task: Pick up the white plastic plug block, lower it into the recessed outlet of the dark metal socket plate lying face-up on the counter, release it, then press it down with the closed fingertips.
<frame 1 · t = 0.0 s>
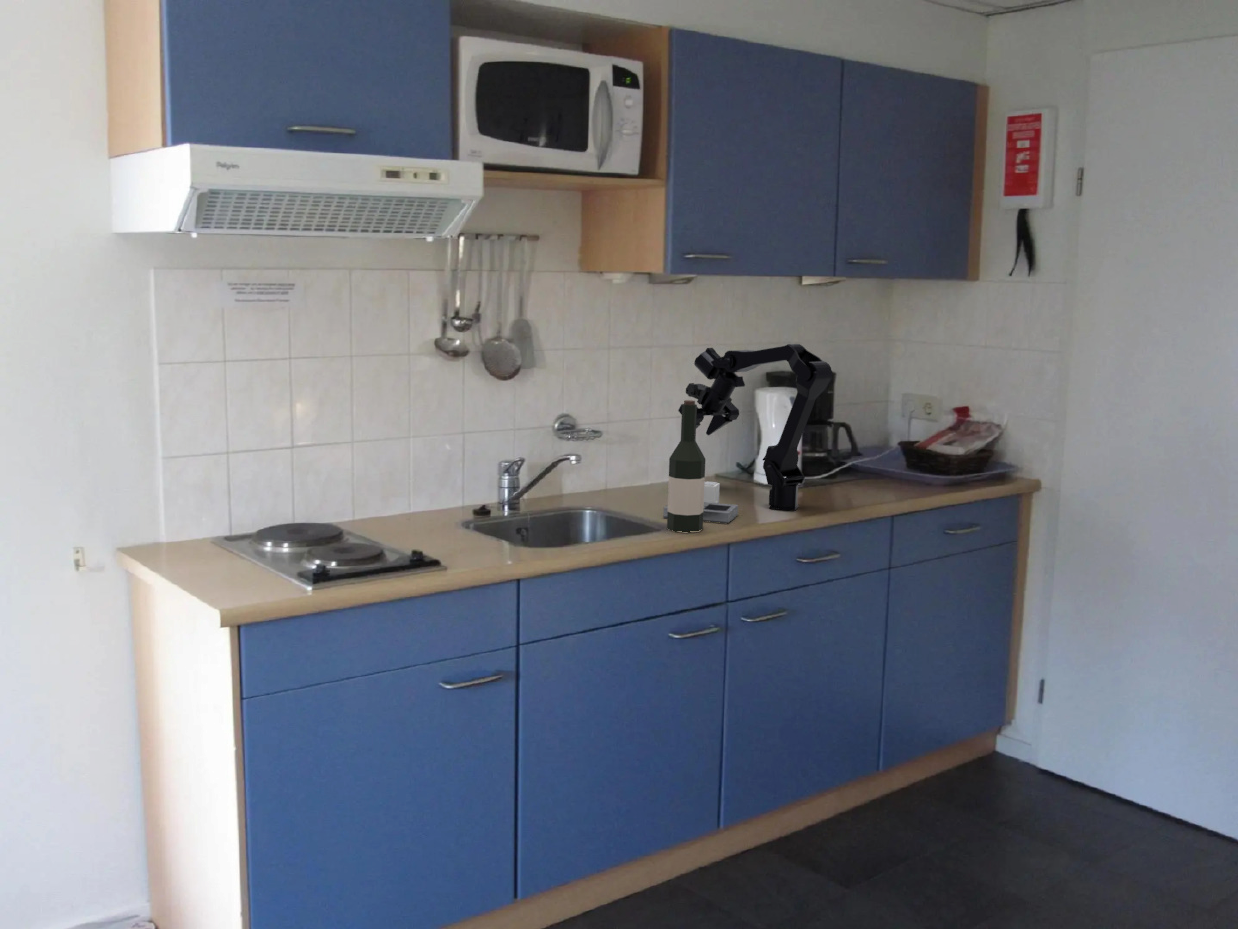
hand: (695, 435, 330), 15 cm above the worktop, tool tilted 35°, fingers open, 9 cm apart
plug: (708, 507, 309), on the worktop
socket plate: (700, 516, 297), on the worktop
wine bottle: (684, 530, 283), on the worktop
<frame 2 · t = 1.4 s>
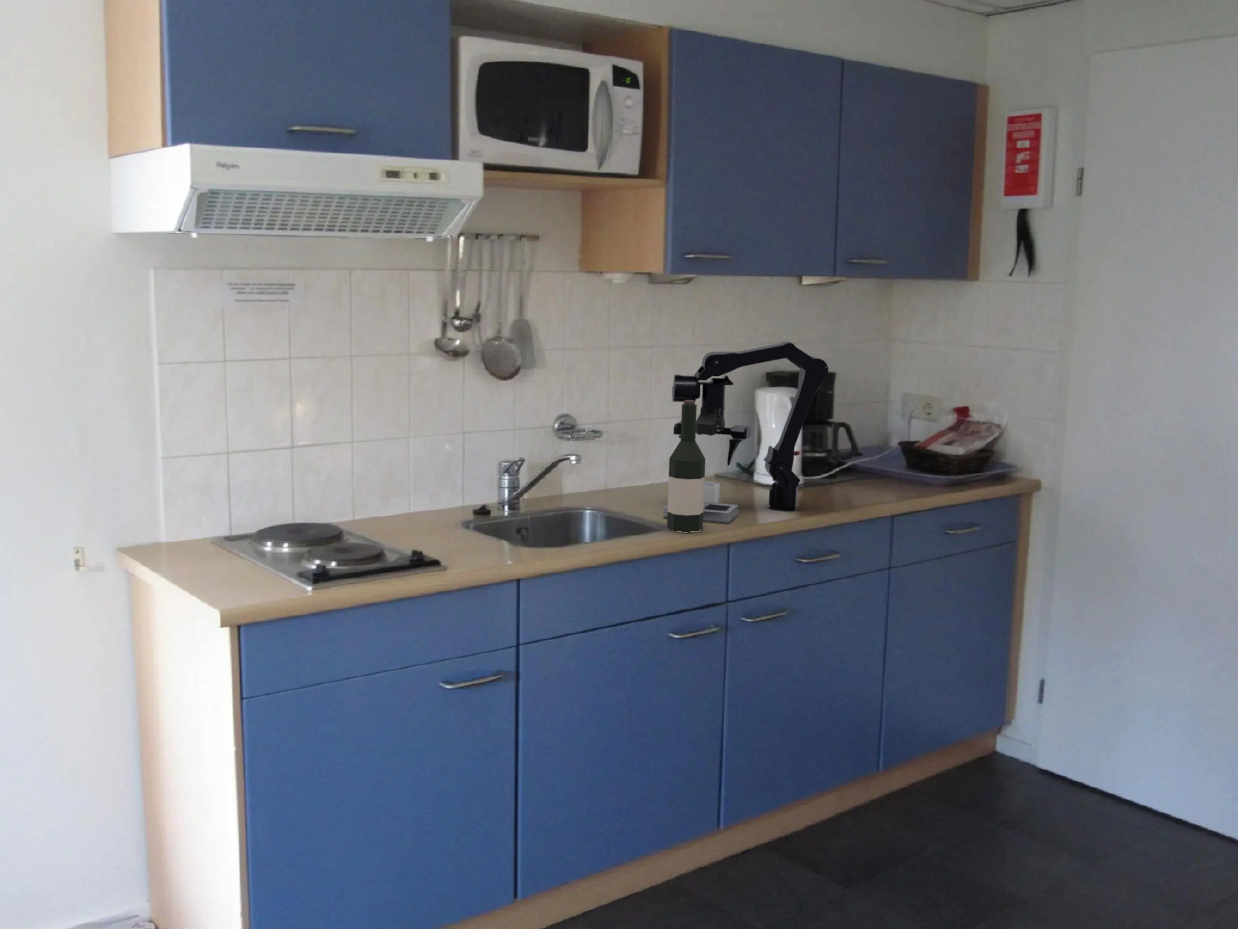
hand: (710, 464, 308), 11 cm above the worktop, tool pointing down, fingers open, 9 cm apart
nothing on the worktop moved.
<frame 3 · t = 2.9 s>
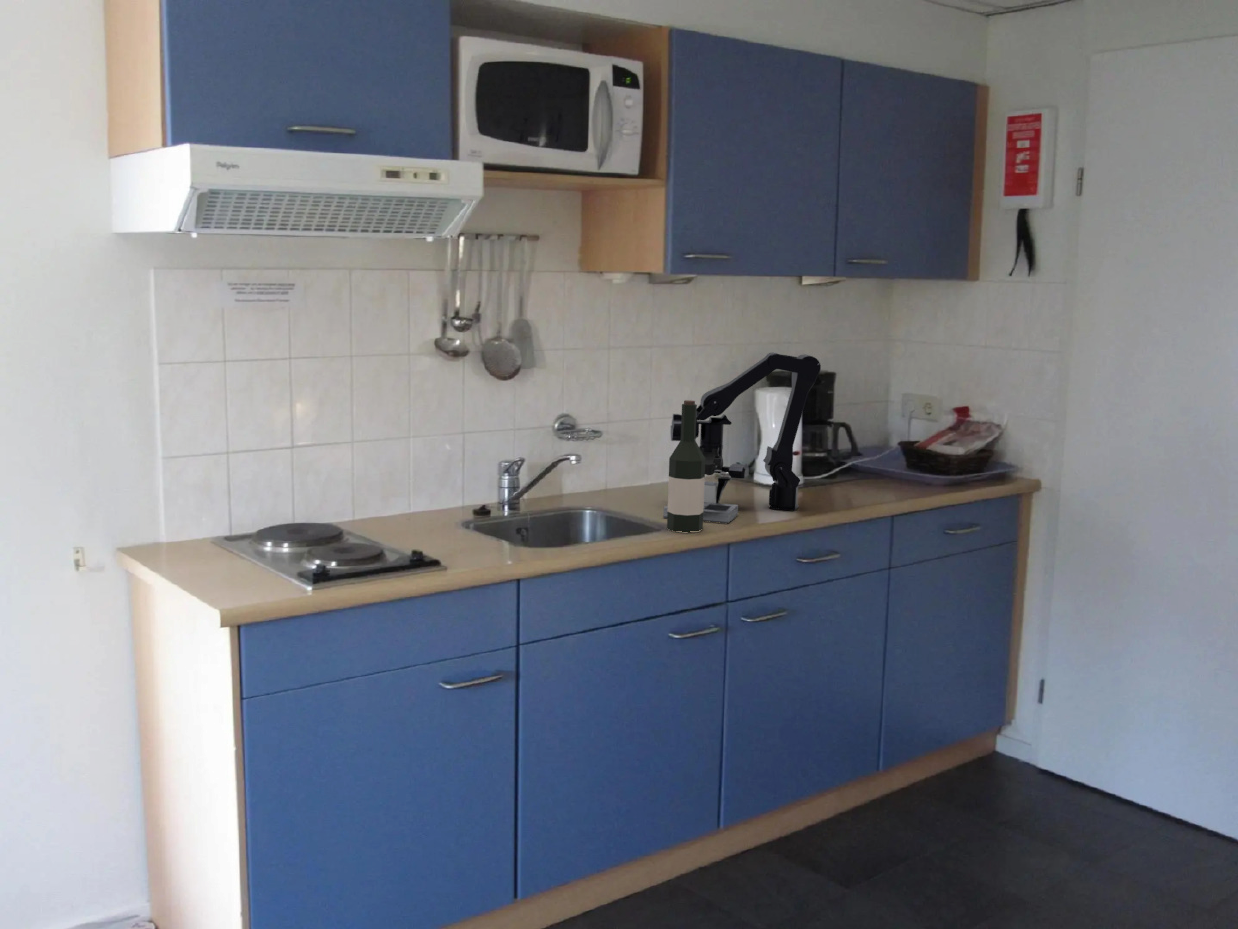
hand: (709, 502, 309), 1 cm above the worktop, tool pointing down, fingers closed on plug, 4 cm apart
plug: (708, 507, 309), on the worktop, touching gripper
everything else where it was.
when the fingers open (3 cm above the worktop, at t = 6.6 s): plug drops 1 cm, resting on socket plate.
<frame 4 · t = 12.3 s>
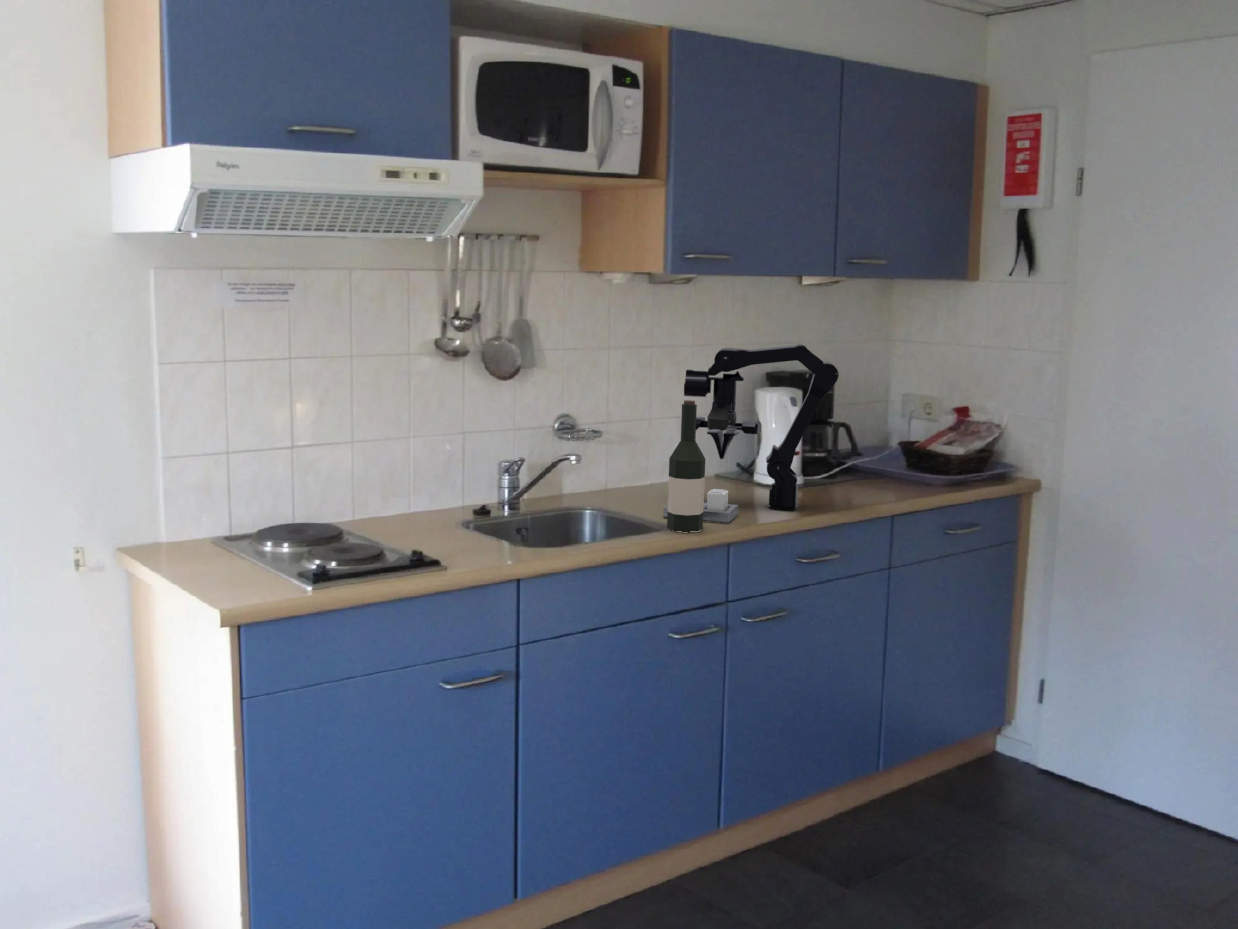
hand: (721, 458, 311), 12 cm above the worktop, tool pointing down, fingers closed
plug: (716, 516, 296), resting on socket plate
everything else where it was.
at the end: plug 0.0 cm from the target spot on the socket plate, point 0.5 cm above the socket plate's base; plug tilted 0°; the gripper is holding nothing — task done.
